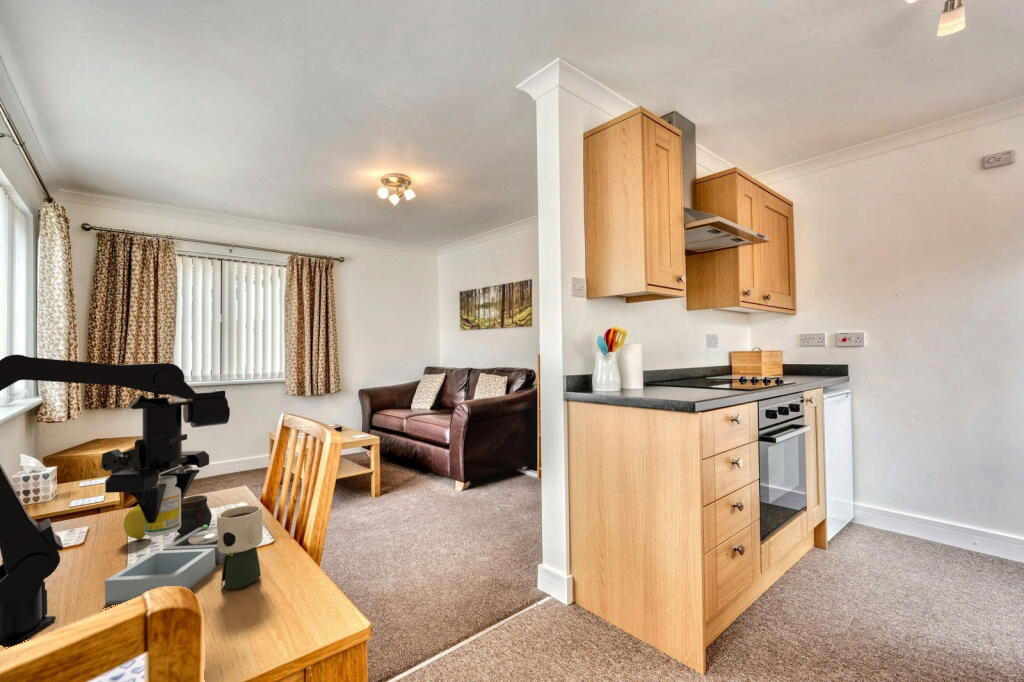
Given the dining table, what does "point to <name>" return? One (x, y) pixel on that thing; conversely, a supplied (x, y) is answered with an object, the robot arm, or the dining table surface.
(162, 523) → the supplement bottle
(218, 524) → the character mug
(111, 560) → the dining table surface
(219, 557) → the grey square tray
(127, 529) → the lemon
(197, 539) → the disc
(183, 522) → the mate gourd
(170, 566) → the bin
